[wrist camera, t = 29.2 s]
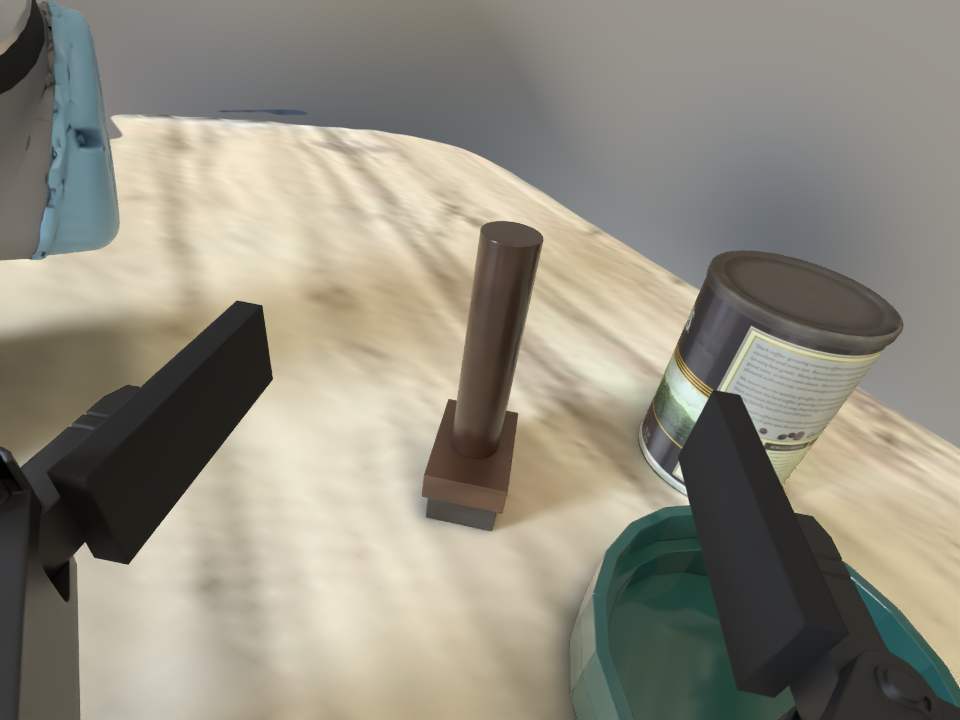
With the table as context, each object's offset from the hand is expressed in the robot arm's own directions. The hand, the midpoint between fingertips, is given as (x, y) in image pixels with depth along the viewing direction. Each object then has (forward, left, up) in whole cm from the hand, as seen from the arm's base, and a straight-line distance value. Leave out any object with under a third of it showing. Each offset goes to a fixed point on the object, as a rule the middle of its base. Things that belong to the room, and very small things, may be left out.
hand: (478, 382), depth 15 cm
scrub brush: (0, +10, -16) cm, 19 cm away
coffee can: (+17, +17, -16) cm, 29 cm away
